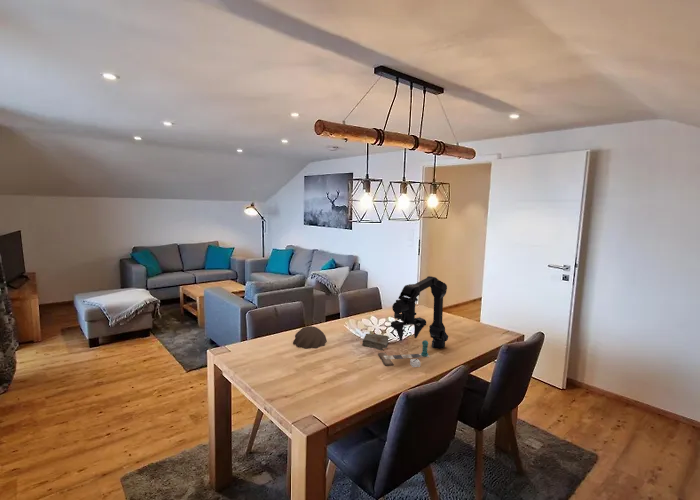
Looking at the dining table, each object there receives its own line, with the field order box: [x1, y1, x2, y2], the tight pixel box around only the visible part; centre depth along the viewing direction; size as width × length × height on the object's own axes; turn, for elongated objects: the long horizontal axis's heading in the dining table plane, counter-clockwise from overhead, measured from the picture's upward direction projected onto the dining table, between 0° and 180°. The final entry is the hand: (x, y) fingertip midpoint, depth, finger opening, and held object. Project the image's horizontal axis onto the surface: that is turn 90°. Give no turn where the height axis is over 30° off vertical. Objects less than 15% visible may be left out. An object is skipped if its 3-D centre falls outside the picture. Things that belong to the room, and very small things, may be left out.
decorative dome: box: [292, 325, 328, 350], centre depth 220 cm, size 19×20×10 cm
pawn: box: [420, 339, 429, 358], centre depth 202 cm, size 4×4×8 cm
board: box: [377, 351, 431, 367], centre depth 201 cm, size 28×14×1 cm, turn 101°
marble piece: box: [361, 333, 390, 351], centre depth 220 cm, size 17×15×4 cm
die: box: [409, 358, 421, 368], centre depth 190 cm, size 4×4×4 cm
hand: (408, 339), depth 194 cm, fingers open, 9 cm apart
